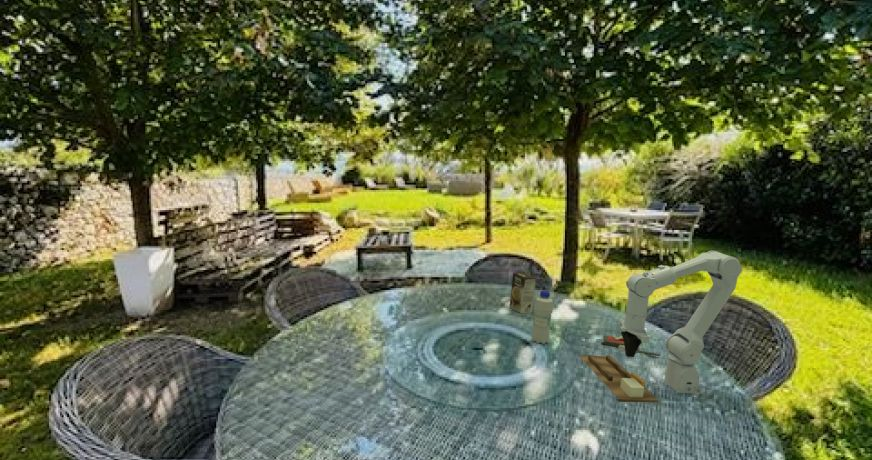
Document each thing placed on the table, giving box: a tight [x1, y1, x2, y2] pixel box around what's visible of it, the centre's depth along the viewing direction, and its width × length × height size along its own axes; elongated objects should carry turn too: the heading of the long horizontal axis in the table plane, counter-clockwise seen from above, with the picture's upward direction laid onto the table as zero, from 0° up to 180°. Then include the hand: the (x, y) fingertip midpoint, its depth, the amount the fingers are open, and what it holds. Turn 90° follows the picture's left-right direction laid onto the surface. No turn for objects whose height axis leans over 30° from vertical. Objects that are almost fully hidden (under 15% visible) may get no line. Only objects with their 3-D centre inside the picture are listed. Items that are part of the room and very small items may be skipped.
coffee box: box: [509, 271, 537, 314], centre depth 215 cm, size 9×6×16 cm
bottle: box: [531, 289, 554, 345], centre depth 178 cm, size 7×7×20 cm
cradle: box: [578, 354, 659, 404], centre depth 155 cm, size 30×12×2 cm, turn 6°
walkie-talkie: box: [601, 334, 661, 357], centre depth 180 cm, size 9×4×20 cm
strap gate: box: [630, 372, 646, 387], centre depth 148 cm, size 1×6×3 cm, turn 11°
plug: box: [620, 378, 645, 398], centre depth 144 cm, size 6×4×3 cm, turn 6°
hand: (629, 356), depth 150 cm, fingers closed
